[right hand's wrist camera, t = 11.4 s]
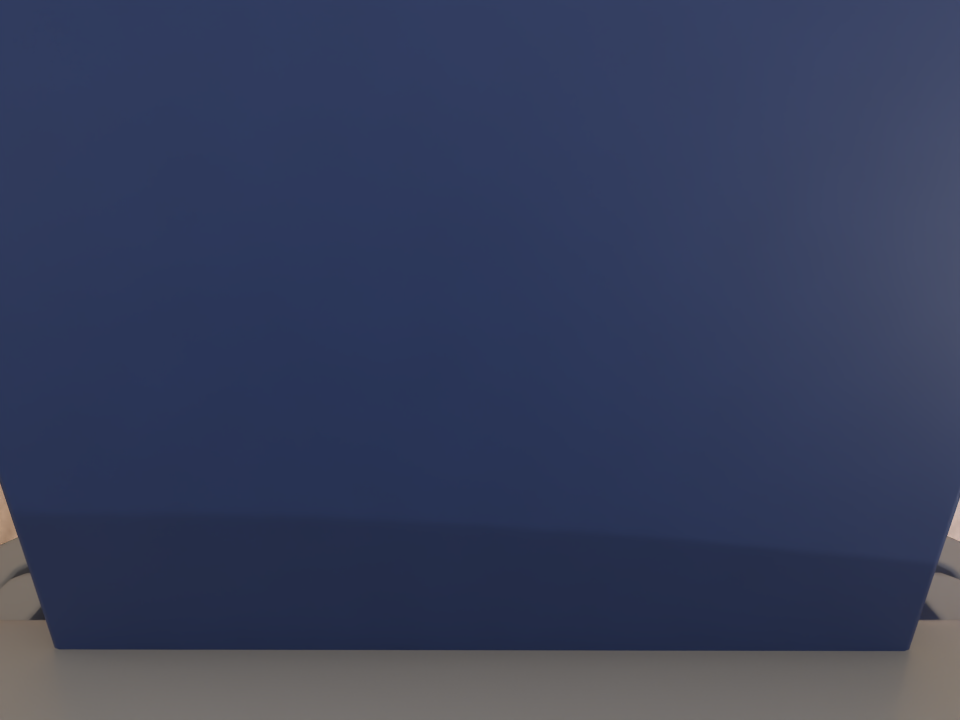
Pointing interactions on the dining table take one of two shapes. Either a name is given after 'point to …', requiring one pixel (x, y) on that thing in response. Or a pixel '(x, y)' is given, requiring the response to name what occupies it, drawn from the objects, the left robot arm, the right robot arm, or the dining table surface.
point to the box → (480, 321)
